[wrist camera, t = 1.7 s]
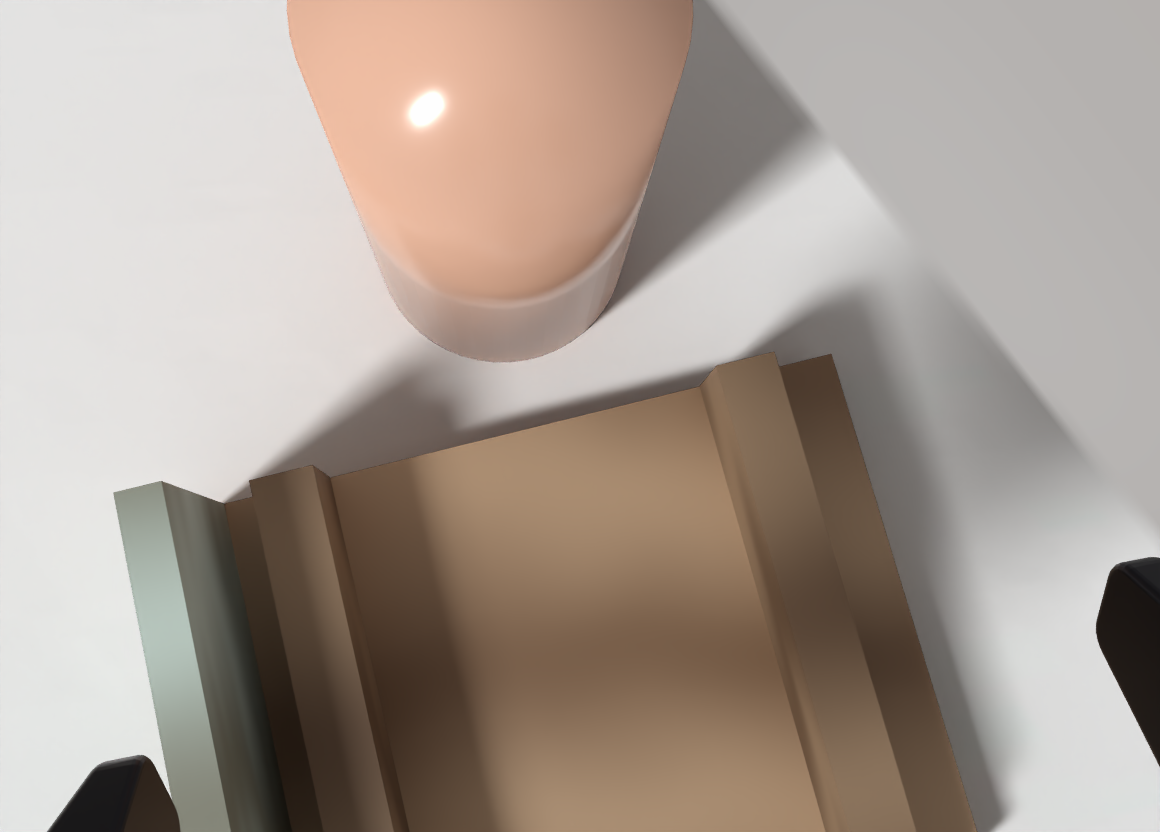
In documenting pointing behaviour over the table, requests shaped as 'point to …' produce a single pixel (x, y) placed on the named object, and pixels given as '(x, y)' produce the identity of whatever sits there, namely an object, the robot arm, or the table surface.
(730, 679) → the walnut shelf
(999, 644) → the table surface
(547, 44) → the peach pink cylinder
